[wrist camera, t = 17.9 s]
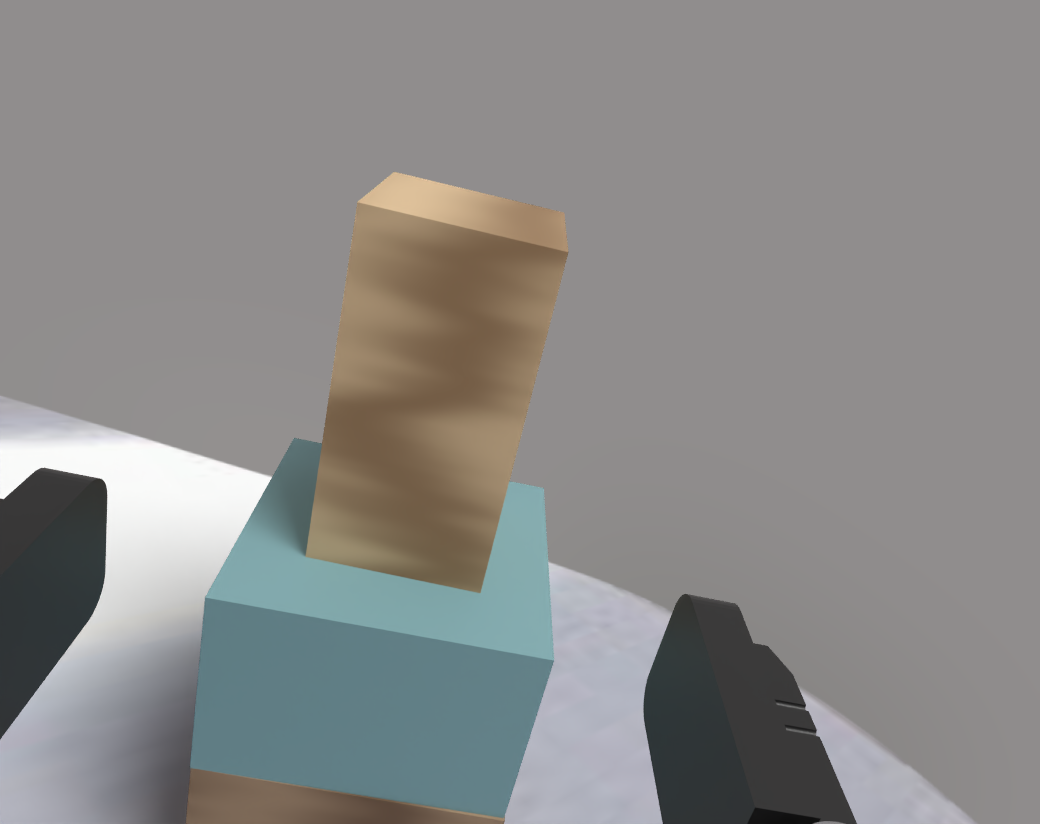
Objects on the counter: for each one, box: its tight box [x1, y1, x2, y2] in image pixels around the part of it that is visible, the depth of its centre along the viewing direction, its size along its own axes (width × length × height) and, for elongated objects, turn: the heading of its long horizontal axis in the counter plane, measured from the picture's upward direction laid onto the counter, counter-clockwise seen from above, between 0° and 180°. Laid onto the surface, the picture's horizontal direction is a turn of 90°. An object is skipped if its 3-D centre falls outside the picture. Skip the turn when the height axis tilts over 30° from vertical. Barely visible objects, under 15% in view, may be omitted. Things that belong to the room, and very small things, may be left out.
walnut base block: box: [186, 768, 505, 824], centre depth 29 cm, size 9×9×6 cm
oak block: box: [306, 172, 568, 593], centre depth 23 cm, size 5×5×10 cm
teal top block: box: [190, 438, 554, 818], centre depth 26 cm, size 9×9×6 cm
